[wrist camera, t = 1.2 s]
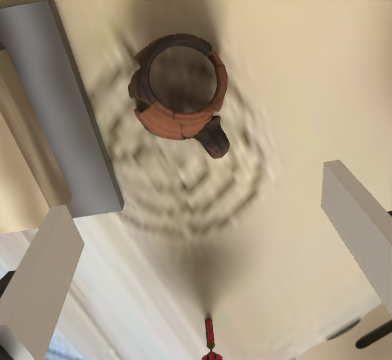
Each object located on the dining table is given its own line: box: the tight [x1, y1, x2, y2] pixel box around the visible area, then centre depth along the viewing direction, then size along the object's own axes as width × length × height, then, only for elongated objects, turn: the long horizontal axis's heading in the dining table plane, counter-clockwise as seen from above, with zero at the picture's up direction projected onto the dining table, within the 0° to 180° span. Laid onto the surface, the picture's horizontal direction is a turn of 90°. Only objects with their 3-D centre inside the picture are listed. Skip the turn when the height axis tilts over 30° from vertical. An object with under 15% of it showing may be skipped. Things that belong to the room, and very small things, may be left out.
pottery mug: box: [128, 34, 230, 159], centre depth 30 cm, size 12×10×8 cm
